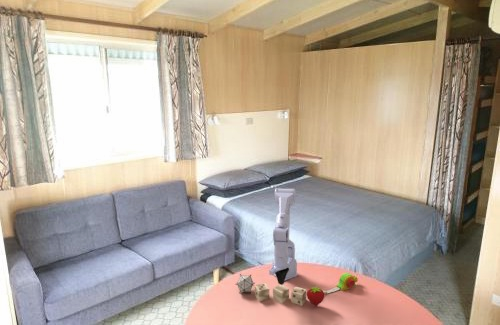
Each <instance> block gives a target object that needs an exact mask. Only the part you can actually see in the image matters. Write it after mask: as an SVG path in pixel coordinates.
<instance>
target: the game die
mask: <svg viewBox="0 0 500 325" xmlns="http://www.w3.org/2000/svg"><path fill="white" fill-rule="evenodd" d="M235 285H236V286H237V287H238V290H239V294H240V293H249V294H250V295H251V294H252V292H251V291H252V288H253V286H254V285H256V282H254V281H253V279H252V274H249V275H244V274H243V275H242V274H241V273H239V279H238V281H236V283H235Z"/></svg>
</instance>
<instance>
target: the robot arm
mask: <svg viewBox="0 0 500 325" xmlns="http://www.w3.org/2000/svg"><path fill="white" fill-rule="evenodd" d="M274 200H275V204H276V205H277V206H278V207H279V208H278V214H277V215H276V216H275V217H276V218H275V224H274V228H273V232H272V239H273V246H274V247H273V248H274V249H273V250H274V251H273V253H274V254H273V257H274V258H273V259H274V261H272V266H271V268H270V269H269V271H268V273H269V275H271V276H275V277H276V280H277V283H278V284H279V285H280V284H281V285H283V286H284V285H285V281H288V280H290V279H293V278H295V277H298V275H299V274H298V273H297V271H298V270H297V269H298V268H297V266H298V265H297V263H298V262H297V259H296V258H295V256H296V248H295V242H294V241H292V240H291V239H290V219H291V218H290V217H291V215H290V213H291V212H290V211H291V207H293V206H295V204H296V189H295V188H278V187H276V188H275V189H274Z"/></svg>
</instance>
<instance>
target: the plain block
mask: <svg viewBox="0 0 500 325" xmlns="http://www.w3.org/2000/svg"><path fill="white" fill-rule="evenodd" d="M272 299H273V300H275V301H276V302H278V303H280V304H283V303H285V302H286V301H288V300H289V299H290V287H287V286H286V285H284V284H283V285H281V284H279V285H277V286H275V287H274V288H272Z"/></svg>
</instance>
